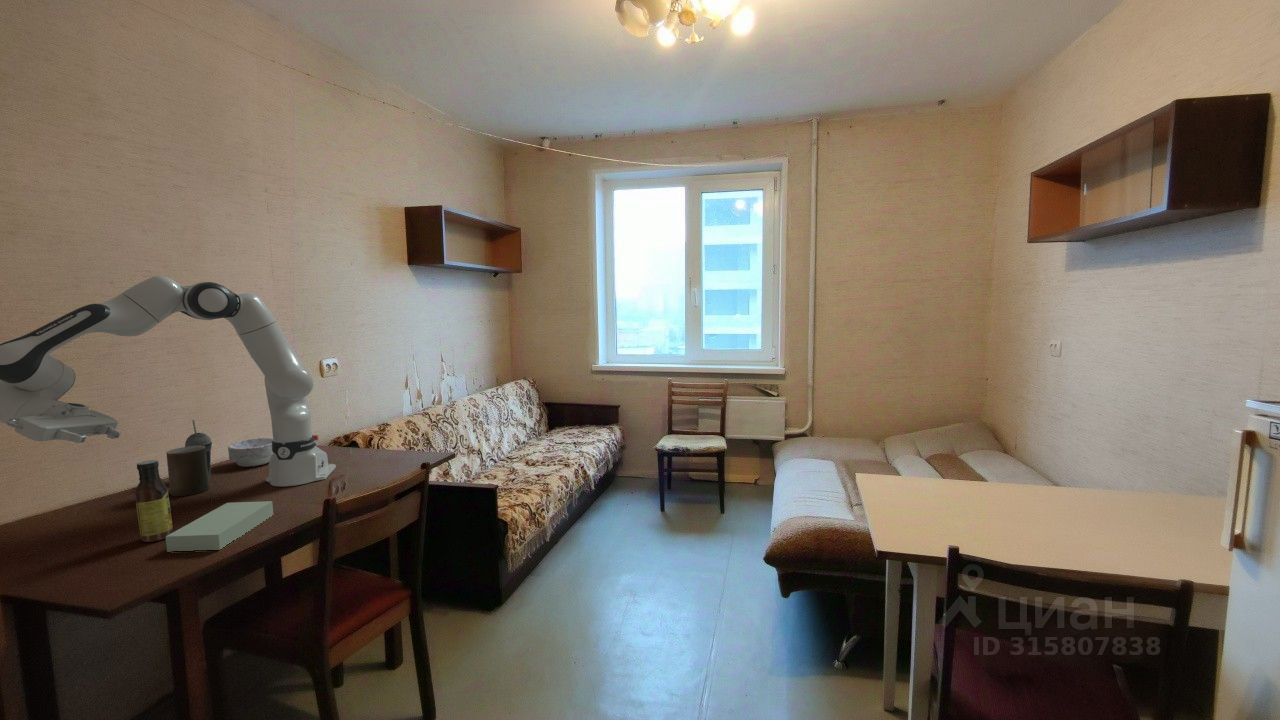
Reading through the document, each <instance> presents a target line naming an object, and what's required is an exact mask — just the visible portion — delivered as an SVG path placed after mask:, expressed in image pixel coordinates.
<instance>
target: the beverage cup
mask: <svg viewBox="0 0 1280 720" xmlns="http://www.w3.org/2000/svg"><path fill="white" fill-rule="evenodd" d="M192 424H193V425H192V426H193V431H194V433H192V434H190V435H189V436H188V437H187V438H186V440H185V443H184V446H185V445H186V447H189V446H205V447H206V457H207V467H208V477H209V478H210V477H211V467H212V466H211V464H212V463H211V462H212V461H211V459H212V457H211V452H212V444H213V442H212V439H211V437H210V436H209V435H208V434H206V433H204V432H197V427H196V423H195V420H194V419H192Z"/></svg>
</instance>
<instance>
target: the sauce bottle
mask: <svg viewBox="0 0 1280 720" xmlns="http://www.w3.org/2000/svg"><path fill="white" fill-rule="evenodd" d="M136 469H137V471H138V477H139V478H138V480H139V483H138V484H137V486H136V489H135V492H134V495H135V506H136V514H137V520H138V528H139V534H140V537H141V541H142V542H144V543H153V542H154V541H155V542H159V541H162V540H166V536H168V535H169V534H171V533H173V519H172V513H171V504H170V502H171V501H170V497H169V490H168V488H167V485H166V484H165V483H164V481H163V479H162V478H161V475H160V471H159V461H158V460H157V459H151V460H144V461H140V462H138V463H136Z"/></svg>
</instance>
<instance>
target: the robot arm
mask: <svg viewBox="0 0 1280 720" xmlns="http://www.w3.org/2000/svg"><path fill="white" fill-rule="evenodd" d="M176 313H182V314H185V316H188V317H191V318H194V319H196V320H202V321H213V320H216V319H225V320H227V321H228V322H229V323H230V324H231V325H232V327H233V328H234V330H235V332H236V333H237V336H238V337H239V339H240V340H241V342H242V344H243V345H244V347H245V349H246V350H247V352H248V354H249V356H250V357H251V359H252V361H254V363H255V364H256V366H257V367H258V368H259V370H260V371H261V373H262V374H263V376H264V378H263V379H264V385H265V393H266V398H267V404H268V409H269V412H270V419H271V420H270V421H271V430H272V431H271V432H272V438H273V441H272V445H271V446H272V452H273V455H272V456H271V457H270V462H268V464H269V467H268V468H269V469H268V470H269V476H268V477H266V478H265V482H267V483H269V484H270V485H271V486H273V487H294V486H299V485H305V484H309V483H313V482H317V481H322V480H326V479H327V478H328V477H329V475H330V474H332V472H333V471H334V470H335V469H336V468H337V465H336V464H334V463H329V459H328V454H327V452H326V451H324V450H322V449H321V448H319V447H318V446H317V444H316V443H317V442H316V441H318V440H319V438H320V437H319V434H313V431H312V430H313V428H312V418H311V417H312V416H311V411H310V409H309V405H308V399H307V396H309V395H310V393H311V392H312V391H313V388H314V379H313V377H312V375H311V374H310V372H309V370H308V369H307V368H306V365H305V364H304V363H303V361H302V360H301V358H300V357H299V355H298V354H297V353H296V351H295V350H294V348H293V347H292V345H291V344H290V342H289V341H288V339H287V337H286V335H285V333H284V332H283V330H282V328H281V326H280V324H279V323H278V321H277V319H276V318H275V316H274V315H273V313H272V311H271V310H270V308H269V307H268V306H267V304H265V302H264V301H263V300H262V299H261V298H260V296H259V295H257V294H255V293H251V292H249V293H247V292H245V293H240V294H236V293H235V292H233V291H232V290H230V289H229V288H227V287H226V286H224V285H221V284H220V283H216V282H211V281H208V282H207V281H205V282H203V281H202V282H197V283H193V284H191V285H186V286H183V285H181V284H179V283H178V282H177V281H175V280H174V279H172V278H171V277H167V276H165V275H154V276H151V277H150V278H147V279H145V280H142V281H140V282H138V283H137V284H134V285H132V286H131V287H129V288H127V289H126V290H124V291H123V292H121V293H120V294H118V295H116V296H115V297H113V298H111V299H108V300H106V301H104V302H103V301H102V302H100V303H89V304H86V305H84V306H81V307H79V308H76V309H74V310H71V311H70V312H68V313H65V314H64V315H62V316H60V317H58V318H56V319H54V320H52V321H50V322H49V323H46V324H44V325H43V326H41V327H38V328H37V329H34V330H32V331H30V332H29V333H26V334H24V335H21V336H18V337H15V338H13V339H10V340H8V341H4V342H1V343H0V423H1V424H5V425H7V426H8V427H11V428H14V432H15V433H17V434H19V435H20V436H23V437H25V438H27V439H29V440H31V441H37V442H48V441H49V442H50V441H56V440H61V441H68V442H73V443H75V444H79V443H81V444H82V443H85V441H86V439H87V437H92V436H101V435H102V436H103V435H106V437H107V438H110V439H111V440H112V439H113V440H114V439H115V440H116V439H119V438H120V436H121V434H122V433H121V431H120V430H117V426H118V424H119V423H118V420H117V419H115V418H114V417H112V416H109V415H107V414H105V413H103V412H100V411H98V410H93V409H90V407H89V406H88V405H87V404H84V403H83V404H82V403H74V402H73V403H71V402H66V401H61V400H59V399H60V398H62V397H63V396H64V395H65V394H67V392H68V391H69V390H70V389H71V388H72V387H74V385H75V381H76V373H75V371H74V369H73V368H71V367H70V366H69V365H67V364H65V363H64V362H63V361H61V360H59V359H57V358H55V357H54V356H52V355H51V353H52V352H54V351H56V350H57V349H58V350H59V348H61V347H63V346H66V345H67V344H69V343H71V342H72V341H75V340H76V339H78V338H81V337H82V336H85V335H87V334H90V333H91V334H92V333H105V334H110V335H113V336H119V337H137V336H141V335H143V334H145V333H147V332H149V331H150V330H152V329H153V328H154V327H156V326H157V325H159V324H160V323H161V322H163V320H165V319H167V318H168V317H170V316H172V315H173V314H176Z"/></svg>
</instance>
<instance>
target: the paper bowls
mask: <svg viewBox="0 0 1280 720" xmlns="http://www.w3.org/2000/svg"><path fill="white" fill-rule="evenodd" d="M272 441H273V437H258V438H257V437H256V438H248V439H244V440H239V441H235V442H233V443H230V444H229V445H228V447H227V451H228V452H227V453H228V459H229V461H232V462H236V464H237V465H238V466H239V467H243V468H246V467H247V468H248V467H249V468H250V467H251V466H252V467H257V466H261V465H266V464H269V462H270V457H271V456H272V455H273V452H272V446H271V445H272Z"/></svg>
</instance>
